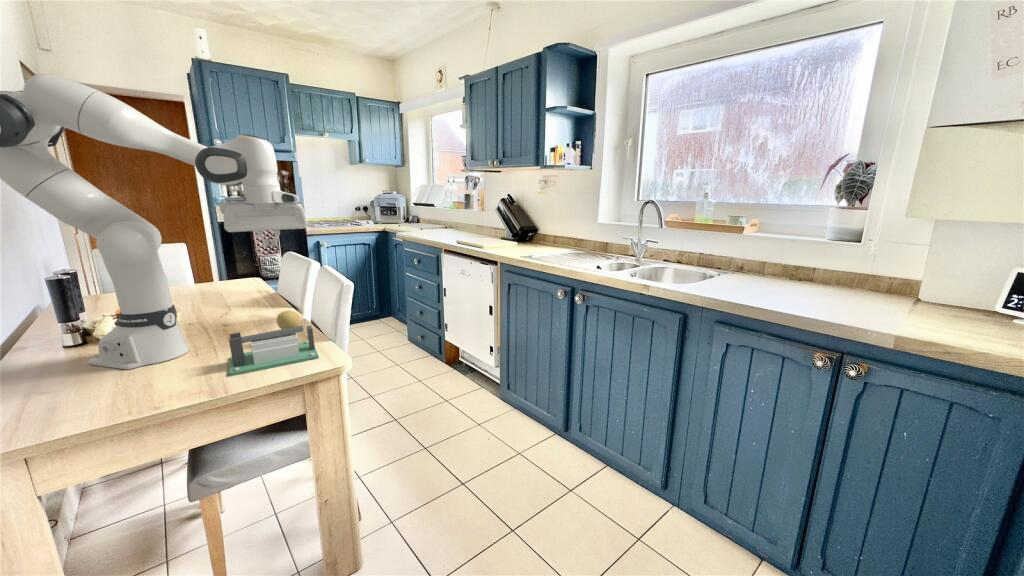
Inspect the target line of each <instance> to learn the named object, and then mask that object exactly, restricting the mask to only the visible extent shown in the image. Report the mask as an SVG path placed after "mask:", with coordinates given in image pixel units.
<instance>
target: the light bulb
mask: <svg viewBox="0 0 1024 576" xmlns="http://www.w3.org/2000/svg"><path fill="white" fill-rule="evenodd" d="M300 323H301V318H300V314H299V313H298V312H296V311H295V310H290V309H289V310H284V311H281V312H280V313H279V314H278V315H277V317H276V324H277V326H278V328H279V329H280V330H281V329H286V328H292V327H297V326H300ZM296 335H297V340H298V339H299V338H298V337H299V336H298V332H297V333H296Z"/></svg>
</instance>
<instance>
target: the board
mask: <svg viewBox="0 0 1024 576" xmlns="http://www.w3.org/2000/svg"><path fill="white" fill-rule="evenodd" d="M306 331H307V332H306V333H307V340H305V341H302V342H299V340H298V339H297V337H298V334H297V335H296V333H292V334H287V335H282V336H277V337H271V338H266V339H261V340H256V341H251V343H250V344H251V346H250V347H251V351H246V352H245V351H244V347H243V343H241V341H240V337H242V336H241V334H242V333H241V332H232V333H229V339H228V342H229V348H230V353H231V354H230V355H231V356H230V364H229V376H230V377H233V376H237V375H242V374H248V373H253V372H259V371H263V370H267V369H272V368H278V367H282V366H287V365H291V364H292V365H294V364H298V363H302V362H307V361H312V360H317V359H319V358H320V357H319V354H318V351H317V349H316V347H315V341H314V339H315V338H314V337H315V336H314V331H313V327H312V325H306Z"/></svg>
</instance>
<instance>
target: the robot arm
mask: <svg viewBox="0 0 1024 576" xmlns="http://www.w3.org/2000/svg"><path fill="white" fill-rule="evenodd" d="M66 129H68V130H70V131H74V132H75V133H78V134H80V135H83V136H86V137H88V138H90V139H94V140H97V141H100V142H103V143H107V144H110V145H114V146H119V147H125V148H129V149H137V150H141V151H143V150H144V151H149V152H155V153H158V154H162V155H165V156H168V157H171V158H174V159H176V160H179V161H180V162H184V163H186V164H189V165H192V166H193V167H195V168H196V171H197V173H198V174H199V175H200V176H201V178H203V179H205V180H206V181H208V182H211V183H212V184H215V185H225V186H229V187H237V186H241V185H242V188H243V195H244V196H238V197H237V196H236V197H232V196H231V197H229V196H228V197H224V198H223V199H221V200H220V201H219V203H218V206H219V211H220V212H221V213H222V214H223V228H224V230H225V231H226V232H228V233H237V232H238V233H240V232H256V235H257V236H258V238H259V239H260V240H261V241H262V244H263V247H266V248H267V247H270V244H271V247H277V246H278V239H279V237H280V234H281V230H302V229H306V228H307V227H308V219H307V217H306V213H305V210H304V208H303V206H302V205H301V204H300V203H299V202H300V197H299V196H298V195H297V194H294V193H289V192H288V191H282V189H281V185H280V181H279V179H278V172H279V171H278V170H279V169H278V163H277V157H276V153H275V149H274V146H273V145H272V143H271V142H270V141H268V140H267V139H266V138H263V137H260V136H257V135H252V134H243V133H241V134H238V135H237V136H236V137H235V138H233V139H231V140H228V141H226V142H223V143H221V144H217V145H212V146H206V145H203V144H202V143H199V142H196V141H194V140H193V139H189V138H187V137H184V136H182V135H180V134H177V133H175V132H173V131H171V130H170V129H167V128H166V127H164V126H163V125H161V124H159V123H157V122H156V121H154V120H153V119H152V118H149V116H147V115H145V114H143V113H142V112H140V111H139V110H137V109H135V108H134V107H132V106H131V105H129V104H127V103H125V102H123V101H121V100H120V99H118V98H116V97H114V96H113V95H112V96H111V95H110V94H107V93H105V92H103V91H101V90H98V89H96V88H93V87H91V86H88V85H86V84H83V83H80V82H77V81H75V80H71V79H69V78H66V77H61V76H58V75H54V74H50V73H38V74H34V75H32V76H31V77H29V78H28V79H27V80H26V82H25V84H24V85H23V89H22V90H17V91H14V90H0V180H1V181H2V182H4V183H5V184H6V185H8V187H10V188H11V189H12V190H14V191H15V192H16V193H18V194H20V195H21V196H22V197H24V198H25V199H27V200H28V201H30V202H32V203H33V204H35V205H36V206H37V207H39V208H40V209H43V210H44V211H45V212H47V213H48V214H50V215H52V216H53V217H54V218H56V219H57V220H59V221H60V222H61V223H63V224H66V225H67V226H70V227H73V228H74V229H77V230H79V231H80V232H83V233H84V234H86V235H88V236H90V237H92V238H94V239H96V242H95V243H96V247H97V250H98V252H99V254H100V257H101V258H102V261H103V264H104V267H105V269H106V272H107V274H108V275H109V277H110V279H111V283H112V284H113V288H114V292H115V296H116V300H117V304H118V307H119V313H116V314H113V315H111V317H113V318H112V320H116V319H117V322H116V326H115V327H113V329H112V330H110V331H109V332H108V333H107V334H105V335H104V336H103V337H102V338H101V339H99V342H98V346H97V347H98V354H97V355H95V356H94V357H91V358H90V359H89V360H88V364H89V365H92V366H99V367H105V368H114V369H120V370H122V369H123V370H131V369H135V368H139V367H142V366H143V367H144V366H147V365H153V364H159V363H162V362H166V361H169V360H173V359H175V358H178V357H181V356H182V355H185V354H186V353H188V352H189V350H190V348H189V346H188V343H187V340H186V339H185V338H184V336H183V333H182V330H181V327H180V324H179V321H178V320H177V317H178V315H177V309H176V306H175V305H174V304H173V301H172V296H171V291H170V287H169V283H168V277H167V276H166V273H165V271H164V268H163V265H162V261H161V259H160V254H159V252H158V251H159V249H160V248H161V245H162V242H163V241H162V238H163V237H162V235H161V232H160V231H159V229H158V227H156V226H155V225H153V224H152V223H151V222H149V221H148V220H146V219H145V218H143V217H142V216H140V215H139V214H137V213H136V212H134V211H133V210H131V209H130V208H128V207H126V206H125V205H124V204H122V203H120V202H119V201H117V200H115V198H112V197H111V196H108V195H107V194H106V193H104V192H103V191H102V190H100V189H99V188H97V187H96V186H95V185H94V184H92V183H90V182H89V181H88V180H86V179H85V178H83V177H82V176H81V175H79V173H77V172H75V171H74V170H73V169H71V168H70V167H68V166H67V165H66V164H64V163H63V162H61V160H59V159H57V158H56V157H55V156H54V155H53V154H52V152H50V150H49V148H51V147H55V146H56V145H58V142H59V140H60V137H61V136H62V134H63V133H64V132H65V130H66ZM264 231H273V233H274V234H275V236H274V238H273V239H270V240H269V239H265V238H264V236H263V235H264Z"/></svg>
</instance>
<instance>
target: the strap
mask: <svg viewBox="0 0 1024 576" xmlns="http://www.w3.org/2000/svg"><path fill="white" fill-rule="evenodd" d="M304 330H305V329H304V327H303V325H298V326H297V327H292V328H286V329H281V328H280V329H277V330H271V331H267V332H261V333H256V334H249V335H245V336H241V337H240V341H241V343H242V344H245V343H250V342H251V341H256V340H261V339H266V338H271V337H277V336H282V335H287V334H292V333H297V334H298V333H301V332H302V333H303V332H304Z"/></svg>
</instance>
